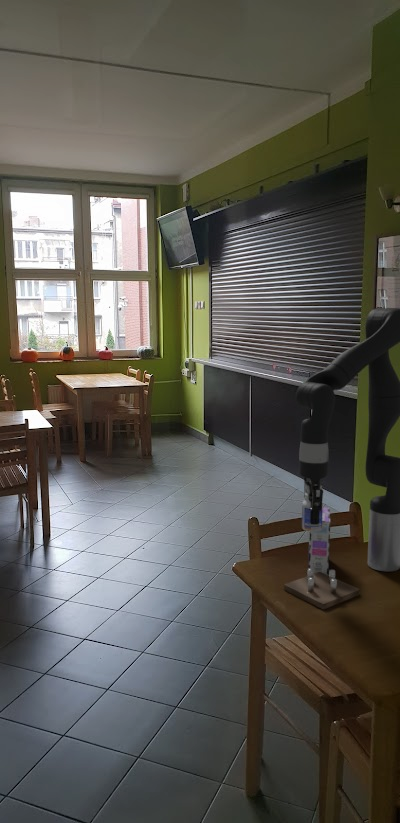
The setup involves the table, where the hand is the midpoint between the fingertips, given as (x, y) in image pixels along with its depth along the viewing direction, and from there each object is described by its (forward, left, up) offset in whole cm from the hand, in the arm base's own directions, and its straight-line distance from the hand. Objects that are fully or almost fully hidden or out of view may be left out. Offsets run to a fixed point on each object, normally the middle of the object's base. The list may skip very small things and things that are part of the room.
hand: (312, 519), depth 160 cm
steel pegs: (0, +4, -18) cm, 18 cm away
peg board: (0, +4, -19) cm, 20 cm away
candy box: (-12, -8, -19) cm, 24 cm away
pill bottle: (0, 0, -3) cm, 3 cm away
